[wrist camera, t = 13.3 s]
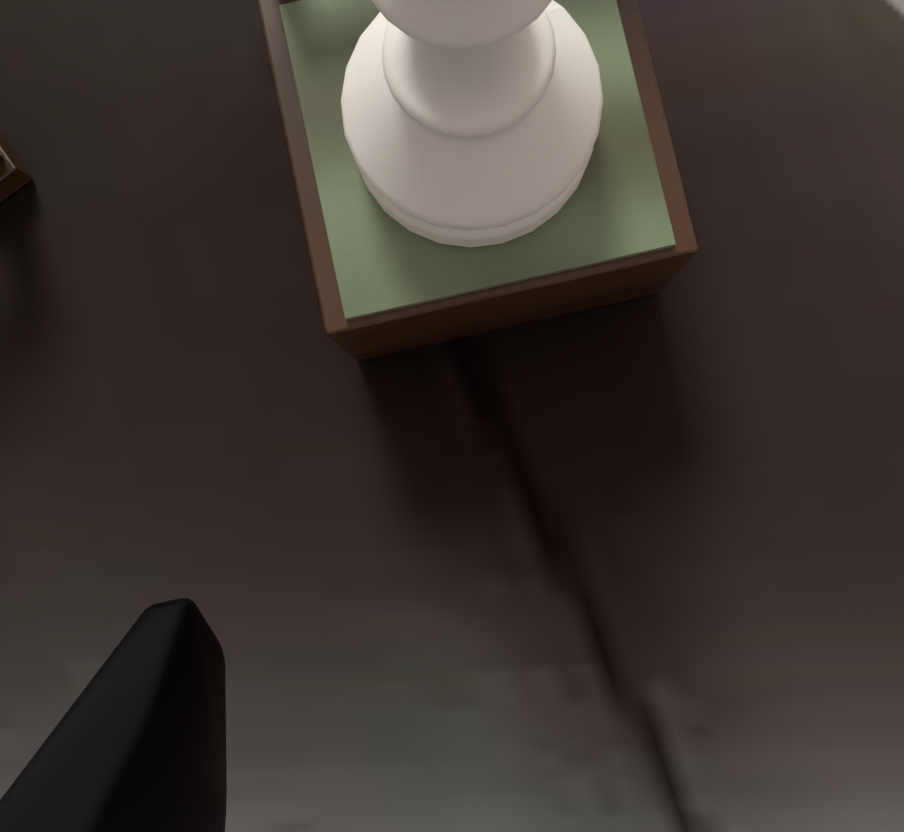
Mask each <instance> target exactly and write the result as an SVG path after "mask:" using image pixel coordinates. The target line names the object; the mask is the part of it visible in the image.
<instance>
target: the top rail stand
mask: <svg viewBox="0 0 904 832" xmlns="http://www.w3.org/2000/svg"><path fill="white" fill-rule="evenodd" d="M256 1H257V5H258V10H259V15H260V20H261V25H262V29H263V34H264V39H265V44H266V49H267V53H268V58H269V63H270V68H271V73H272V78H273V82H274V87H275V92H276V97H277V102H278V106H279V111H280V116H281V121H282V126H283V131H284V135H285V140H286V145H287V150H288V155H289V159H290V164H291V169H292V174H293V179H294V183H295V188H296V193H297V198H298V203H299V208H300V212H301V217H302V222H303V227H304V232H305V236H306V241H307V246H308V251H309V256H310V261H311V265H312V270H313V275H314V280H315V285H316V289H317V294H318V299H319V304H320V309H321V313H322V318H323V323H324V328H325V332H326V334H327V335H328V336H329V337H331V338H332V339H333V340H334V341H335V342H336V343H338V344H339V345H340V346H341V347H342V348H344V349H345V350H346V351H347V352H348V353H350V354H351V355H352V356H353V357H354V358H356V359H357V360H364V359H368V358H373V357H377V356H381V355H386V354H390V353H395V352H399V351H404V350H408V349H413V348H417V347H422V346H426V345H431V344H435V343H439V342H444V341H448V340H453V339H457V338H462V337H466V336H471V335H475V334H480V333H484V332H488V331H493V330H497V329H502V328H506V327H511V326H515V325H520V324H524V323H529V322H533V321H538V320H542V319H546V318H551V317H555V316H560V315H564V314H569V313H573V312H578V311H582V310H587V309H591V308H596V307H600V306H604V305H609V304H613V303H618V302H622V301H627V300H631V299H636V298H640V297H645V296H649V295H654V294H657V293H658V292H659V291H660V290H661V289H662V288H663V287H664V286H665V285H666V284H667V283H668V282H669V281H670V280H671V279H672V278H673V277H674V275H675V274H676V273H677V272H678V271H679V270H680V269H681V268H682V267H683V266H684V265H685V264H686V263H687V262H688V261H689V260H690V259H691V257H692V256H693V255H694V254H695V253H696V252H697V250H698V247H697V242H696V238H695V234H694V230H693V226H692V222H691V218H690V214H689V210H688V206H687V202H686V198H685V194H684V190H683V186H682V182H681V178H680V174H679V170H678V166H677V162H676V158H675V153H674V149H673V145H672V141H671V137H670V133H669V129H668V125H667V121H666V117H665V113H664V109H663V105H662V101H661V97H660V93H659V89H658V85H657V81H656V77H655V73H654V69H653V64H652V60H651V56H650V52H649V48H648V44H647V40H646V36H645V32H644V28H643V24H642V20H641V16H640V12H639V8H638V4H637V0H554V1H555V2H556V3H558V4H559V5H561V6H562V7H563V8H565V10H566V11H567V12H568V13H569V15H570V16H571V17H572V18H573V20H574V21H575V22H576V23H577V25H578V26H579V27H580V28H581V30H582V31H583V32H584V33H585V35H586V37H587V39H588V42H589V44H590V46H591V49H592V51H593V53H594V56H595V58H596V60H597V63H598V65H599V71H600V78H601V86H602V93H603V105H602V113H601V120H600V127H599V134H598V136H597V138H596V141H595V143H594V147H593V151H592V154H591V157H590V160H589V162H588V165H587V167H586V169H585V171H584V174H583V176H582V178H581V181H580V183H579V185H578V188H577V189H576V190H575V191H574V193H573V194H572V195H571V196H570V198H569V199H568V200H567V201H566V203H565V204H564V205H563V206H562V208H561V209H560V210H559V211H558V213H556V214H555V215H554V216H552V217H551V218H550V219H548V220H547V221H546V222H544V223H543V224H542V225H540V226H539V227H537V228H536V229H535V230H533V231H532V232H530V233H527V234H525V235H522V236H520V237H517V238H515V239H512V240H510V241H507V242H505V243H502V244H495V245H487V246H479V247H463V246H455V245H448V244H440V243H437V242H435V241H432V240H430V239H428V238H425V237H423V236H420V235H418V234H415V233H413V232H411V231H409V230H408V229H407V228H405V227H404V226H403V225H401V224H400V223H399V222H397V221H396V220H395V219H394V218H392V217H391V216H390V215H388V214H387V213H386V212H385V211H384V210H383V208H382V207H381V206H380V204H379V203H378V202H377V200H376V199H375V198H374V196H373V195H372V194H371V192H370V191H369V190H368V188H367V187H366V185H365V182H364V180H363V178H362V175H361V173H360V170H359V168H358V167H357V165H356V162H355V160H354V157H353V155H352V152H351V150H350V147H349V145H348V142H347V140H346V137H345V135H344V126H343V117H342V107H341V96H342V90H343V84H344V78H345V71H346V67H347V64H348V62H349V60H350V58H351V55H352V53H353V51H354V49H355V47H356V44H357V42H358V40H359V38H360V36H361V35H362V33H363V32H364V31H365V30H366V29H367V27H368V26H369V25H370V24H371V22H372V21H373V20H374V19H375V17H376V16H377V15H378V14H379V12H380V11H379V9H378V8H377V7H376V5H375V4H374V3H373V1H372V0H256Z"/></svg>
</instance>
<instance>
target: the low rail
mask: <svg viewBox="0 0 904 832" xmlns="http://www.w3.org/2000/svg"><path fill="white" fill-rule="evenodd" d="M31 180H32V177H31V175H30V174H29V172H28V171H27V170H26V168H25V167H24V165H23V164H22V163H21V161H20V160H19V158H18V157H17V155H16V154H15V153H14V151H13V150H12V148H11V147H10V146H9V144H8V143H7V141H6V140H5V138H4V137H3V136H2V134H0V203H1V202H2V201H4V200H5V199H6V198H8V197H9V196H11V195H12V194H13V193H15V192H16V191H17V190H19V189H20V188H21V187H23V186H24V185H26V184H27V183H28V182H30V181H31Z"/></svg>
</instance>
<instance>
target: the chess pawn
mask: <svg viewBox="0 0 904 832" xmlns="http://www.w3.org/2000/svg"><path fill="white" fill-rule="evenodd" d="M372 1H373V3H374V4H375V5H376V7H377V8H378V9H379V11H380V12H379V14H378V15H377V16H376V17H375V19H374V20H373V21H372V22H371V24H370V25H369V26H368V27H367V29H366V30H365V31H364V32H363V33H362V35H361V36H360V38H359V40H358V42H357V44H356V47H355V49H354V51H353V53H352V55H351V58H350V60H349V62H348V64H347V67H346V71H345V78H344V84H343V90H342V96H341V107H342V117H343V126H344V135H345V137H346V140H347V142H348V145H349V147H350V150H351V152H352V155H353V157H354V160H355V162H356V165H357V167H358V168H359V170H360V173H361V175H362V178H363V180H364V182H365V185H366V187H367V188H368V190H369V191H370V192H371V194H372V195H373V196H374V198H375V199H376V200H377V202H378V203H379V204H380V206H381V207H382V208H383V210H384V211H385V212H386V213H387V214H388V215H390V216H391V217H392V218H394V219H395V220H396V221H397V222H399V223H400V224H401V225H403V226H404V227H405V228H407V229H408V230H409V231H411V232H413V233H415V234H418V235H420V236H423V237H425V238H428V239H430V240H432V241H435V242H437V243H440V244H448V245H455V246H463V247H479V246H487V245H495V244H502V243H505V242H507V241H510V240H512V239H515V238H517V237H520V236H522V235H525V234H527V233H530V232H532V231H533V230H535V229H536V228H537V227H539V226H540V225H542V224H543V223H544V222H546V221H547V220H548V219H550V218H551V217H552V216H554V215H555V214H556V213H558V211H559V210H560V209H561V208H562V206H563V205H564V204H565V203H566V201H567V200H568V199H569V198H570V196H571V195H572V194H573V193H574V191H575V190H576V189H577V188H578V185H579V183H580V181H581V178H582V176H583V174H584V171H585V169H586V167H587V165H588V162H589V160H590V157H591V154H592V151H593V147H594V143H595V141H596V138H597V136H598V134H599V127H600V120H601V113H602V105H603V93H602V86H601V78H600V71H599V65H598V63H597V60H596V58H595V56H594V53H593V51H592V49H591V46H590V44H589V42H588V39H587V37H586V35H585V33H584V32H583V31H582V30H581V28H580V27H579V26H578V25H577V23H576V22H575V21H574V20H573V18H572V17H571V16H570V15H569V13H568V12H567V11H566V10H565V8H563V7H562V6H561V5H559V4H558V3H556V2H555V1H554V0H372Z"/></svg>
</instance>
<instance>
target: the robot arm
mask: <svg viewBox="0 0 904 832" xmlns="http://www.w3.org/2000/svg"><path fill="white" fill-rule="evenodd" d="M226 790H227V780H226V697H225V660H224V655H223V650H222V648H221V645H220V643H219V641H218V639H217V638H216V636H215V635H214V633H213V631H212V630H211V628H210V626H209V625H208V623H207V622H206V620H205V618H204V617H203V615H202V614H201V612H200V610H199V609H198V607H197V606H196V604H195V603H194V602H193V601H192V600H190V599H188V598H180V599H175V600H171V601H166V602H162V603H157V604H153V605H151V606H149V607H148V608H147V609H146V610H145V611H144V612H143V613H142V614H141V616H140V617H139V618H138V619H137V621H136V622H135V623H134V625H133V626H132V627H131V629H130V630H129V631H128V633H127V634H126V635H125V637H124V638H123V639H122V641H121V642H120V643H119V644H118V646H117V647H116V648H115V650H114V651H113V652H112V654H111V655H110V656H109V658H108V659H107V660H106V662H105V663H104V664H103V666H102V667H101V668H100V669H99V671H98V672H97V673H96V675H95V676H94V677H93V679H92V680H91V681H90V683H89V684H88V685H87V687H86V688H85V689H84V691H83V692H82V693H81V694H80V696H79V697H78V698H77V700H76V701H75V702H74V704H73V705H72V706H71V708H70V709H69V710H68V712H67V713H66V714H65V716H64V717H63V718H62V719H61V721H60V722H59V723H58V725H57V726H56V727H55V729H54V730H53V731H52V733H51V734H50V735H49V737H48V738H47V739H46V741H45V742H44V743H43V744H42V746H41V747H40V748H39V750H38V751H37V752H36V754H35V755H34V756H33V758H32V759H31V760H30V762H29V763H28V764H27V766H26V767H25V768H24V769H23V771H22V772H21V773H20V775H19V776H18V777H17V779H16V780H15V781H14V783H13V784H12V785H11V787H10V788H9V789H8V791H7V792H6V793H5V794H4V796H3V797H2V798H1V800H0V832H225V819H226Z"/></svg>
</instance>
